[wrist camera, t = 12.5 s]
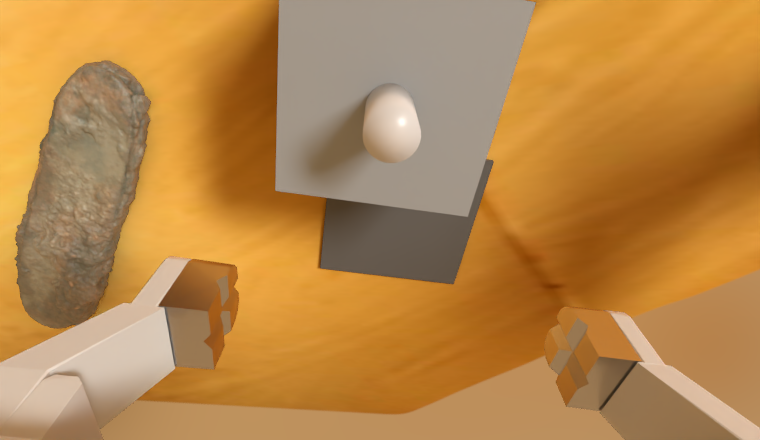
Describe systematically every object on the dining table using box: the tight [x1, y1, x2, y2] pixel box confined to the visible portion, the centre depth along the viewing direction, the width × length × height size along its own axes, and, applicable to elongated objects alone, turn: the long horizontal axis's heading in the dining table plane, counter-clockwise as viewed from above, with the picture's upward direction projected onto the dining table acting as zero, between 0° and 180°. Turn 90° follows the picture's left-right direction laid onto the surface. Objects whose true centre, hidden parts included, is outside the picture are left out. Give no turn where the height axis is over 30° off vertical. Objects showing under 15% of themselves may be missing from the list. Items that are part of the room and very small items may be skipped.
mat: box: [320, 159, 493, 284], centre depth 43 cm, size 16×16×1 cm
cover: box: [275, 0, 536, 217], centre depth 28 cm, size 14×14×17 cm
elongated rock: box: [15, 61, 151, 329], centre depth 41 cm, size 35×5×10 cm
